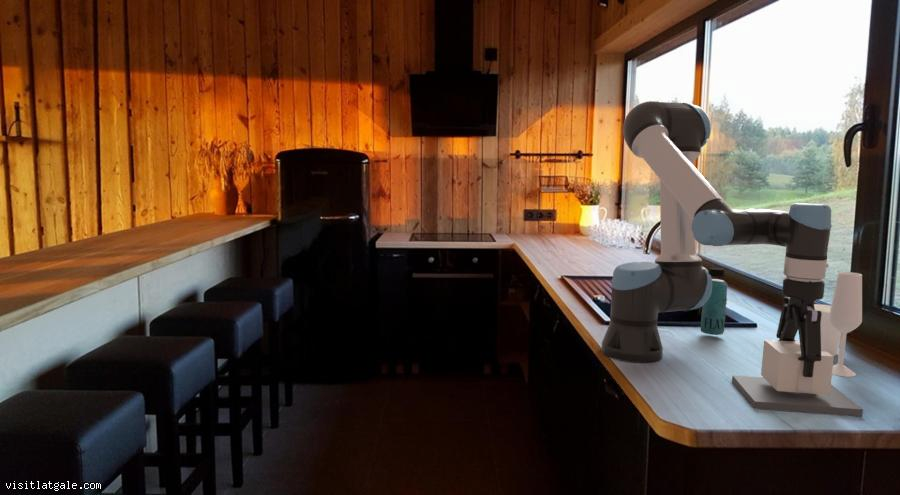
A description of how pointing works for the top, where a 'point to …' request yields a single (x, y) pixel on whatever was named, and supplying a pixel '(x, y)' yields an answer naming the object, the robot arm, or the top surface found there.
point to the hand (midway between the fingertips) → (793, 382)
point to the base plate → (794, 398)
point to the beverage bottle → (715, 305)
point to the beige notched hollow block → (793, 367)
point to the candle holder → (828, 331)
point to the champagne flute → (846, 313)
